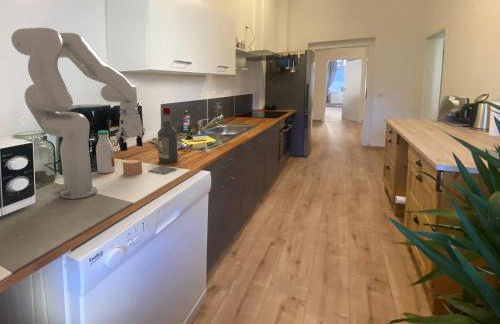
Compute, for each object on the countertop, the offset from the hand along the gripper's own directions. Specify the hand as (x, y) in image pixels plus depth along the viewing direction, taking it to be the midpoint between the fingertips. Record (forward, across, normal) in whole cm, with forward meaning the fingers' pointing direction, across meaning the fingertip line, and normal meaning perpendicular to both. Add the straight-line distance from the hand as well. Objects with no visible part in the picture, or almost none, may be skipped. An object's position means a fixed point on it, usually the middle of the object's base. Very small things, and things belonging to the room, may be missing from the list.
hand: (132, 148), depth 147 cm
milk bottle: (+12, -5, +13) cm, 19 cm away
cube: (+12, -1, 0) cm, 13 cm away
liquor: (+13, +27, +1) cm, 30 cm away
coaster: (+13, +10, -9) cm, 18 cm away
